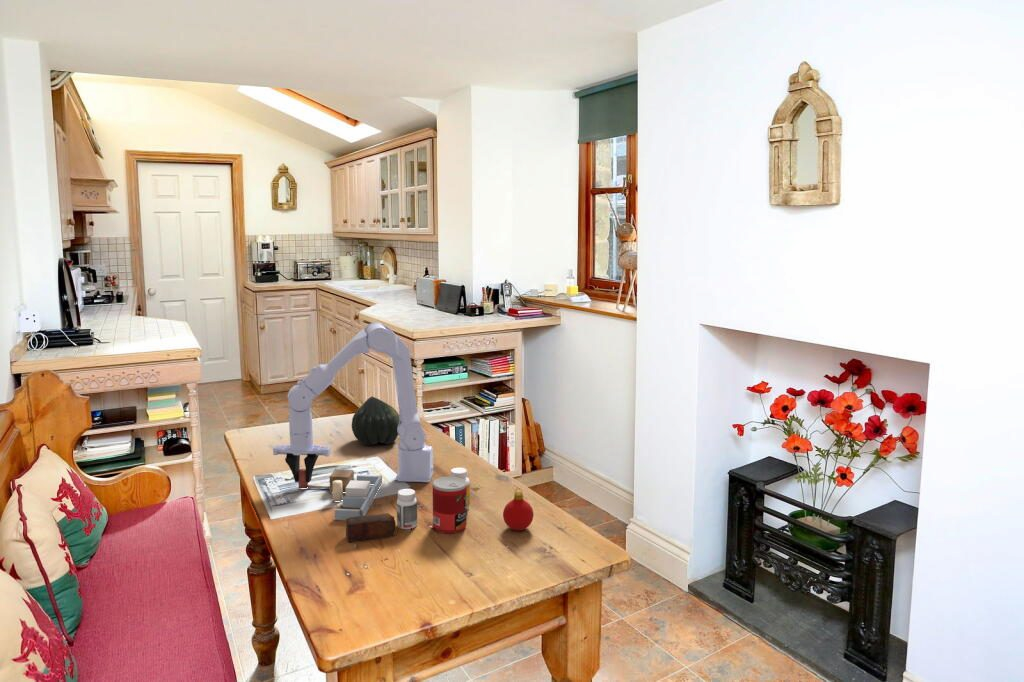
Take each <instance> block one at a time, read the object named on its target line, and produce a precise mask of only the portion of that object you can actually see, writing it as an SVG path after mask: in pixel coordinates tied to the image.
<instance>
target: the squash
mask: <svg viewBox="0 0 1024 682" xmlns="http://www.w3.org/2000/svg"><path fill="white" fill-rule="evenodd" d="M398 424H399V412H398V411H397V409H395V407H393V406H392V405H390V404H388V403H387V402H385V401H383V400H381V399H379V398H377V397H374V396H370V397H369V398H368V399H366V400H365V401H364V402H363V404H362V405H361V406H359V408H358V409H357V410H356V412H354V415H353V417H352V419H351V430H352V433H353V434H352V435H354V438H355V439H357V441H358V442H360V443H361V444H362V445H364V446H372V445H377V444H378V443H381V444H384V445H390V444H392V443H394V442H395V441H396V439H397V438H398V436H399V434H398V432H397V427H398Z"/></svg>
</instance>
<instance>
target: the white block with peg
mask: <svg viewBox="0 0 1024 682" xmlns="http://www.w3.org/2000/svg"><path fill="white" fill-rule="evenodd" d="M332 484H333V493H332V502H333V501H341V500H343V499H342V498H343V497H344V493H343V492H342V481H341V480H335V481H333V482H332ZM370 486H371V485H370V481H357V480H355V479H354V480H350V482H349V483H348V485H347V486H346V488H345V489H346V493H345V497H367V496H368V494H369V493H370Z"/></svg>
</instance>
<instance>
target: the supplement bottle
mask: <svg viewBox="0 0 1024 682" xmlns="http://www.w3.org/2000/svg"><path fill="white" fill-rule="evenodd" d="M450 477H459V478H462V479H464V480H465V481H466V482H467V483H466V484H467V510H469V508H470V505H471V504H470V503H471V502H470V501H471V499H470V498H471V497H470V496H471V493H470V491H471V484H470V483H471V480H470V479H469V477H468V469H466V468H464V467H454V468H452V469H451V470H450Z"/></svg>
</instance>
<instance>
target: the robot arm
mask: <svg viewBox="0 0 1024 682" xmlns="http://www.w3.org/2000/svg"><path fill="white" fill-rule="evenodd" d="M370 349H371V350H373V351H375V352H376V353H377V352H378V353H382V354H385V355H387V356H389V357H390V358H391V360H392V367H393V375H394V381H395V387H396V397H397V404H398V410H399V412H398V414H399V424H398V427H397V432H398V434H399V435H398V436H399V437H400V440H399V442H398V444H397V451H398V452H397V453H398V454H397V455H398V456H397V457H398V463H397V464H398V472H397V475H396V477H395V478H394V481H395V480H398V481H397V482H404V483H405V482H407V483H408V482H409V483H410V482H413V483H414V482H415V483H430V482H431V479H432V478H433V477H432V476H433V474H434V448H433V446H431V445H430V446H429V445H426V440H427V435H426V432H425V430H423V428H422V424H421V420H420V416H419V414H418V407H417V399H416V392H415V391H416V390H415V383H414V382H415V381H414V376H413V368H412V361H411V354H410V349H409V347H408V346H407V344H405V343H404V342H403V341H402V339H400V337H399V336H398V335H397V334H396V333H395V332H394V331H393V330H392V329H391V328H390V327H389V326H386V325H385V324H383V323H381V322H377V321H375V322H371V323H369V324H367V325H366V326H365V328H364V329H361V330H360V331H359V332H357V334H355V336H353V337H352V338H351V339H350V340H349V341H348V343H346V344H345V346H343V347H342V348H341V349H340V350H339V352H337V353H336V354H335V355H334V356H333V357H332V358H331V359H330V360H329V361H328V362H327V363H325V364H318V365H316V366H315V365H314V366H312V367H311V368H310V372H309V373H308V374H307V375H306V376H305V377H304V378H303V379H302V380H298V381H297V382H296V384H297V385H296V384H295V385H292V387H291V388H290V389H289V391H288V393H287V395H286V397H287V400H288V401H287V402H288V404H289V409H288V411H289V415H288V423H289V425H288V426H289V428H288V429H289V444H286V445H284V444H283V445H275V446H274V447H273V448H272V453H273V456H278V455H285V459H284V460H285V461H284V462H285V463H286V464H287V466H288V467H289V469H290V471H291V474H292V477H293V480H294V482H295V483H298V470H299V469H301V468H300V466H301V465H300V462H301V456H305V457H304V458H303V461H304V466H305V467H304V468H306V483H308V484H309V483H310V482H311V481H312V477H313V473H314V472H313V471H314V468H315V465H316V462H317V460H318V457H319V456H324V457H326V458H327V457H330V456H331V454H332V453H331V446H322V445H316V444H314V434H313V433H314V432H313V414H312V410H311V408H312V407H311V406H312V405H313V400H314V399H316V398H317V397H319V395H321V394H322V393H323V392H324V391H325V390H326V389H327V388H328V387H329V386H331V384H333V383H334V382H335V381H336V373H338V372H339V371H340V370H341V369H343V367H345V366H346V365H347V364H348V363H349V362H351V361H352V360H353V359H354V358H355V357H356V356H358V355H360V354H369V353H370V354H371V350H370Z"/></svg>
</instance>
